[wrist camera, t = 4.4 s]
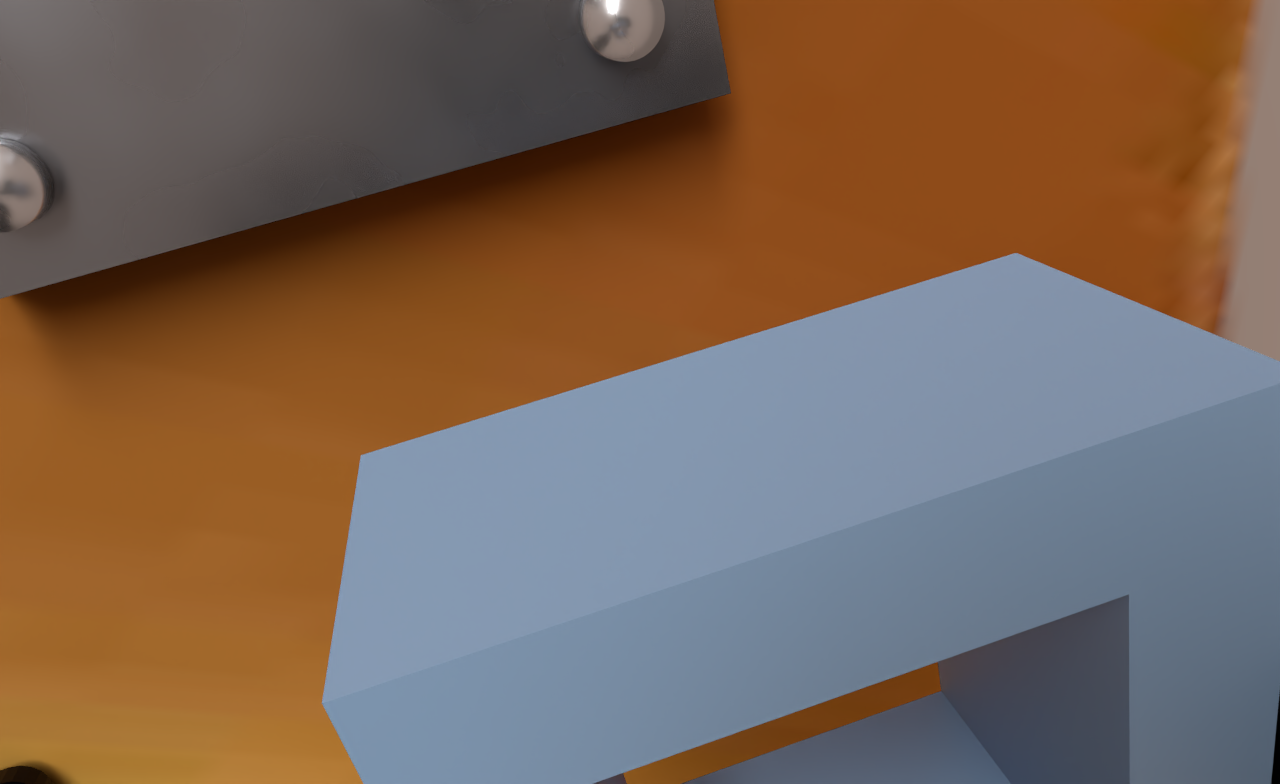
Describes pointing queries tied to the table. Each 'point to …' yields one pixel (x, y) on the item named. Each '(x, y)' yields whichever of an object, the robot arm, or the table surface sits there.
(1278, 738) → the robot arm
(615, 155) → the table surface
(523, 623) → the blue square ring
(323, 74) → the keeper plate
